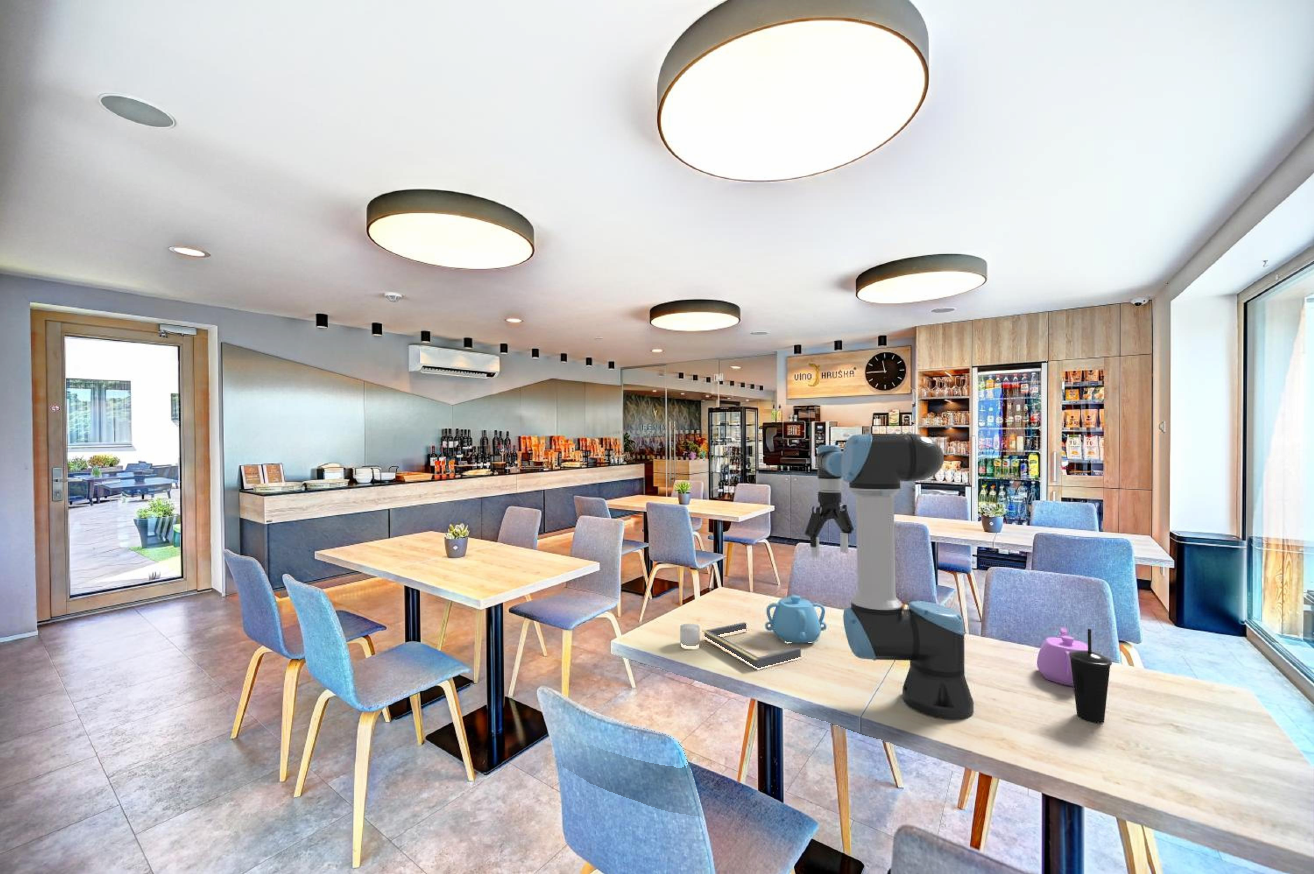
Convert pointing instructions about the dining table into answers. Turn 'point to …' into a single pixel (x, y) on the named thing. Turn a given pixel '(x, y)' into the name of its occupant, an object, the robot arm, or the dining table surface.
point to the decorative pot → (796, 620)
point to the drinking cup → (1090, 682)
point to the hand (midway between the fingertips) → (830, 554)
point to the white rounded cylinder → (690, 634)
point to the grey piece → (744, 654)
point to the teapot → (1058, 658)
